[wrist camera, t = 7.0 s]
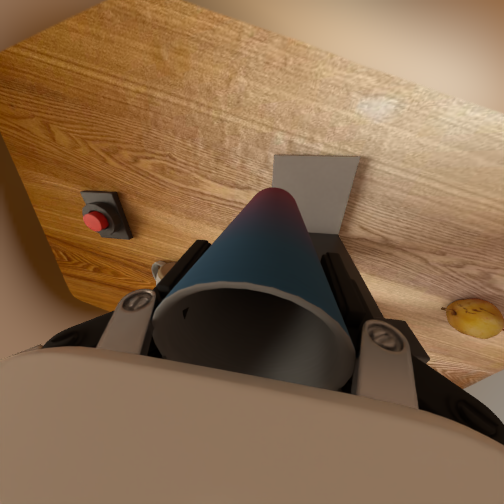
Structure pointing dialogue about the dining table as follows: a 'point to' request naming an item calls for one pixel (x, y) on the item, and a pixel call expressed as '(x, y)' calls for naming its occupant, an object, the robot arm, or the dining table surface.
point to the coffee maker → (330, 215)
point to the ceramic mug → (161, 270)
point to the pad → (108, 213)
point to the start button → (96, 221)
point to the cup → (259, 303)
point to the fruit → (475, 318)
